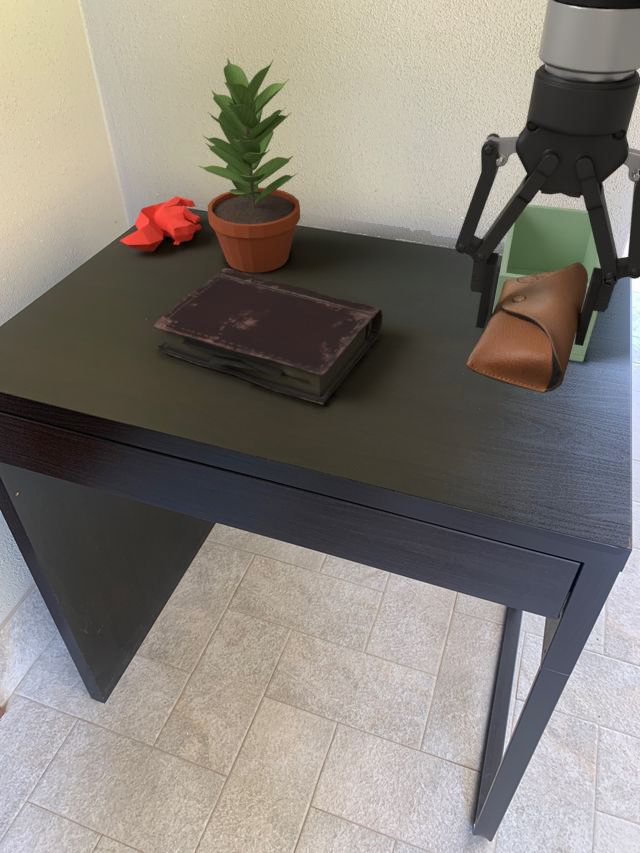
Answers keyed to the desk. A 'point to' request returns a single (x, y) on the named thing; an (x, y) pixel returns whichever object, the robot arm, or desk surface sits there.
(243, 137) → the potted plant
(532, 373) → the sunglasses case
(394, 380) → the desk surface
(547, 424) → the desk surface
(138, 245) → the animal figurine
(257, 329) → the diary
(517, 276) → the green open box
